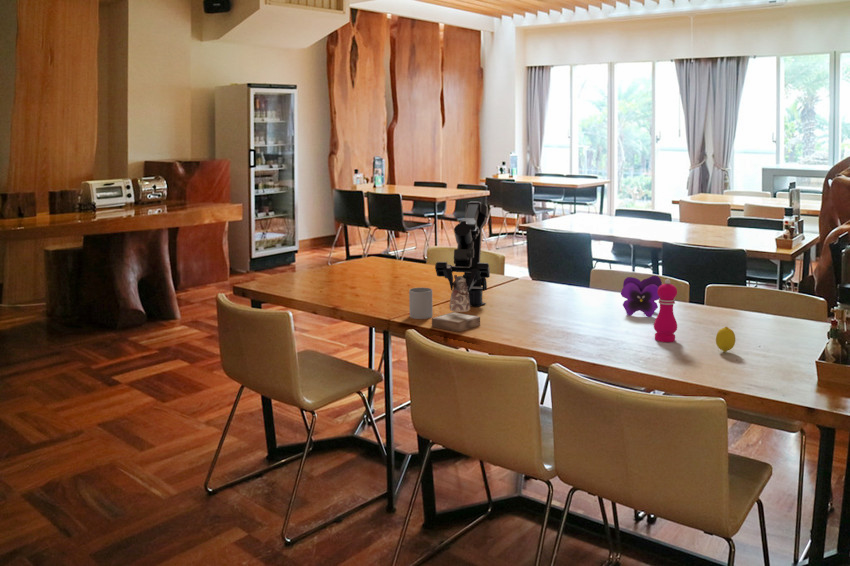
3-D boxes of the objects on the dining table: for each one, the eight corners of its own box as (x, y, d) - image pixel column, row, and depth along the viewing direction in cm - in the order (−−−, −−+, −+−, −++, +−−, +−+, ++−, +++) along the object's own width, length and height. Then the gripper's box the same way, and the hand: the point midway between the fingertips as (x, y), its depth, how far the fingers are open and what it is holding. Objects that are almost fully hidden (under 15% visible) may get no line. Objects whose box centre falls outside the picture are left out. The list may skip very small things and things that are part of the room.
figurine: (456, 313, 263) (456, 278, 260) (445, 308, 269) (445, 275, 266) (474, 310, 266) (474, 276, 264) (462, 306, 272) (462, 272, 270)
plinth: (453, 320, 277) (453, 311, 277) (480, 325, 269) (480, 316, 269) (431, 326, 268) (431, 317, 268) (458, 332, 261) (458, 323, 260)
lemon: (717, 348, 237) (719, 323, 236) (736, 351, 234) (738, 326, 233) (712, 353, 233) (714, 327, 231) (732, 355, 230) (733, 330, 228)
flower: (622, 322, 292) (617, 312, 280) (626, 284, 296) (622, 273, 284) (661, 325, 287) (659, 315, 275) (665, 286, 290) (663, 276, 278)
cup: (429, 319, 279) (429, 292, 277) (407, 318, 280) (407, 291, 278) (434, 314, 287) (433, 287, 285) (412, 313, 288) (412, 287, 286)
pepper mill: (649, 337, 251) (652, 277, 247) (671, 336, 252) (674, 276, 248) (658, 343, 244) (661, 281, 240) (680, 342, 245) (683, 280, 241)
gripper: (435, 239, 268) (430, 276, 260) (488, 240, 264) (485, 277, 256) (440, 257, 277) (434, 293, 269) (491, 258, 274) (487, 295, 265)
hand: (460, 290), depth 265 cm, fingers closed on figurine, 6 cm apart
